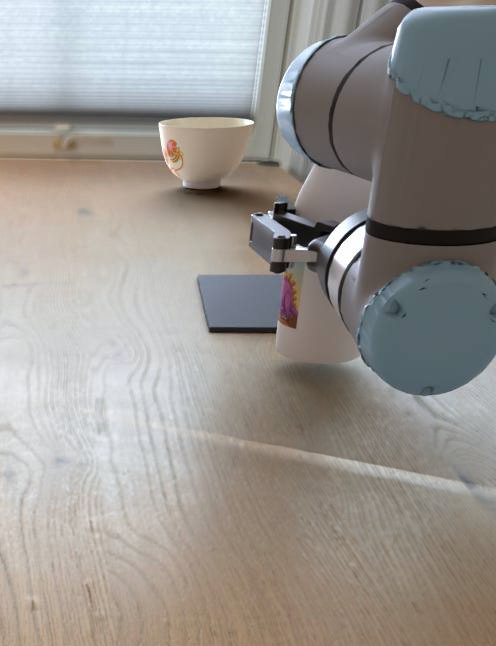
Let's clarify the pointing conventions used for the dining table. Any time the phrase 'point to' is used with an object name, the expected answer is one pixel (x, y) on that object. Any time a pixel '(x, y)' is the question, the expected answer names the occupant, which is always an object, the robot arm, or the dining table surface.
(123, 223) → the dining table surface
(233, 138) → the bowl
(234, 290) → the placemat
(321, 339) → the milk bottle
